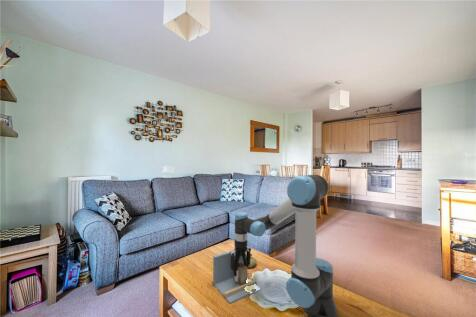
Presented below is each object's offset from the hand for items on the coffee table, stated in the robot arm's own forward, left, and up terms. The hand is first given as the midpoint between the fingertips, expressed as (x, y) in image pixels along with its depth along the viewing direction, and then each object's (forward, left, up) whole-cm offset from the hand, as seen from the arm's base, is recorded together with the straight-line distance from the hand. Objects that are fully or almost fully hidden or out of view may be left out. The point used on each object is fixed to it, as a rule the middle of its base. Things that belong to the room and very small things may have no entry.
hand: (240, 279), depth 114 cm
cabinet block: (0, 0, -1) cm, 1 cm away
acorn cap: (+14, -16, -2) cm, 21 cm away
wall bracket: (-2, +4, -2) cm, 5 cm away
